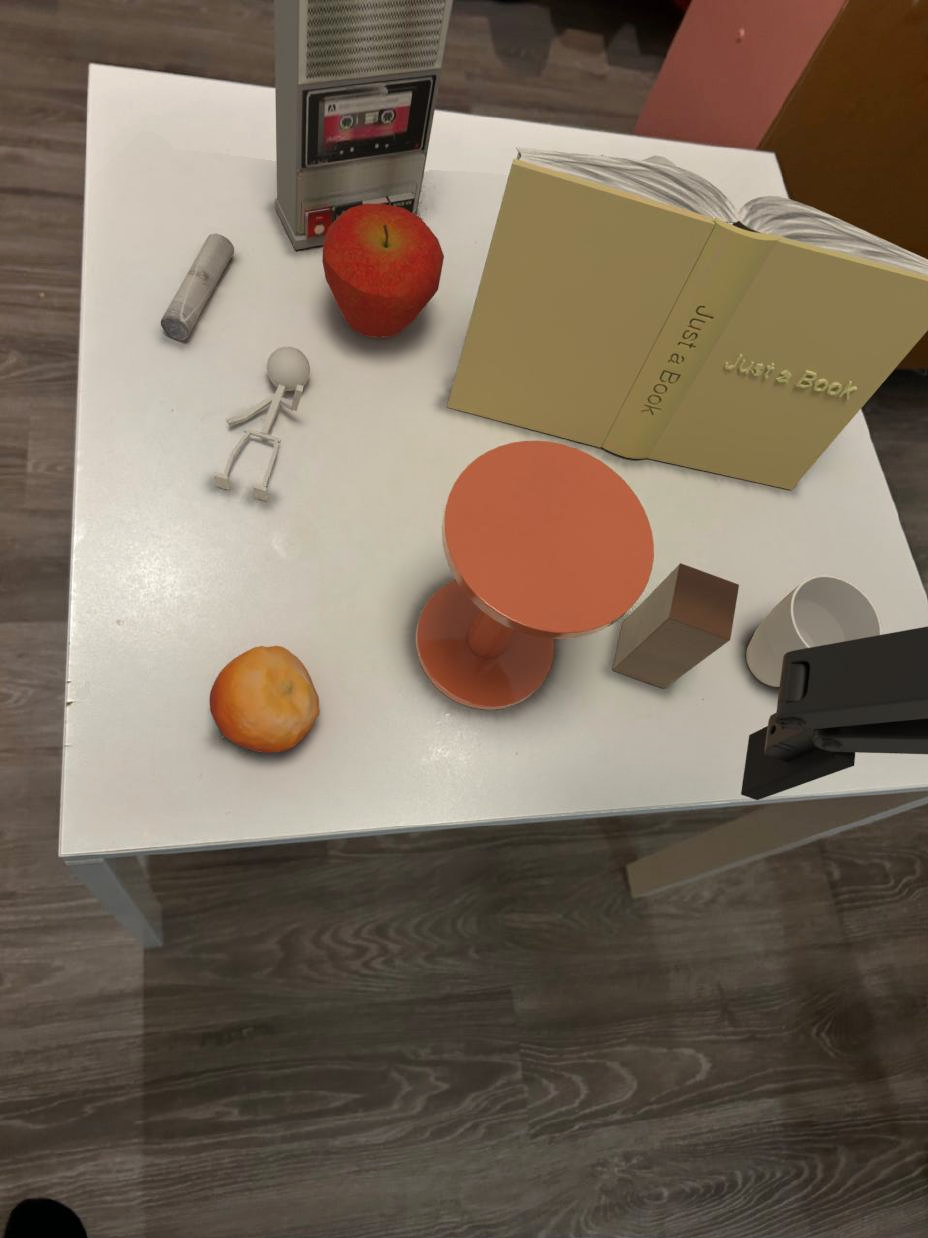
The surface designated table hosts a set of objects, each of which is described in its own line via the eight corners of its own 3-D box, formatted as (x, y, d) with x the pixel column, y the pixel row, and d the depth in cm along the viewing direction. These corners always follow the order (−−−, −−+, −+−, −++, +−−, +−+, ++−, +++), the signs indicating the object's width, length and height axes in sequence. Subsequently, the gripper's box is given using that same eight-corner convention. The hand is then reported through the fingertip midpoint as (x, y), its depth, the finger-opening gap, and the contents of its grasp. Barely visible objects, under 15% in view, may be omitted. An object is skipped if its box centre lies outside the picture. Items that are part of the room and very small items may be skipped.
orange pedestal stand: (540, 744, 68) (631, 663, 50) (381, 688, 67) (415, 586, 49) (577, 601, 74) (671, 483, 56) (431, 548, 73) (479, 411, 55)
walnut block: (664, 689, 72) (730, 640, 61) (611, 670, 72) (669, 618, 61) (673, 640, 74) (739, 584, 64) (623, 621, 74) (680, 562, 63)
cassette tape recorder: (296, 253, 83) (299, -12, 61) (275, 210, 85) (270, -64, 62) (419, 230, 88) (464, -24, 65) (396, 189, 90) (433, -72, 67)
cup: (808, 628, 78) (876, 583, 69) (815, 709, 75) (887, 673, 66) (728, 614, 77) (787, 567, 68) (732, 696, 73) (794, 658, 64)
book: (444, 414, 79) (511, 169, 58) (453, 361, 83) (519, 114, 63) (791, 498, 83) (966, 298, 63) (783, 443, 88) (945, 239, 67)
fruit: (186, 662, 63) (237, 627, 58) (276, 675, 69) (330, 644, 63) (185, 765, 60) (238, 738, 55) (279, 770, 66) (336, 746, 60)
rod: (209, 249, 81) (206, 227, 79) (235, 259, 82) (234, 237, 79) (160, 336, 76) (156, 315, 74) (189, 346, 77) (186, 325, 74)
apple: (360, 383, 79) (372, 289, 68) (297, 306, 81) (298, 202, 70) (449, 340, 83) (474, 245, 72) (387, 267, 85) (402, 164, 74)
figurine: (196, 453, 67) (255, 310, 72) (205, 488, 72) (259, 353, 78) (270, 476, 67) (324, 332, 72) (273, 508, 73) (323, 373, 78)
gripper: (2044, 680, 18) (1149, 826, 38) (1051, 281, 17) (645, 645, 36) (2265, 1040, 15) (1163, 999, 34) (1063, 587, 14) (611, 809, 33)
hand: (897, 818), depth 35 cm, fingers open, 13 cm apart
